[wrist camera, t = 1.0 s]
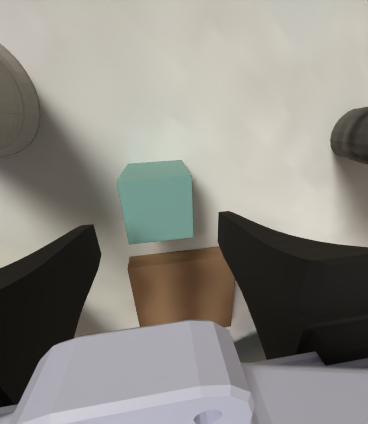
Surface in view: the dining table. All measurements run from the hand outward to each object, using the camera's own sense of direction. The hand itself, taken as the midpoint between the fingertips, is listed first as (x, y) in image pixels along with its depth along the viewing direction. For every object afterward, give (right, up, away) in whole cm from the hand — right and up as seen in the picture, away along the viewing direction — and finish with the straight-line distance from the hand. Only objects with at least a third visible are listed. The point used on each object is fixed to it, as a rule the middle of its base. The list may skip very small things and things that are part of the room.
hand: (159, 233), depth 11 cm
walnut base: (+1, -9, +14) cm, 17 cm away
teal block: (-1, +4, +8) cm, 9 cm away
